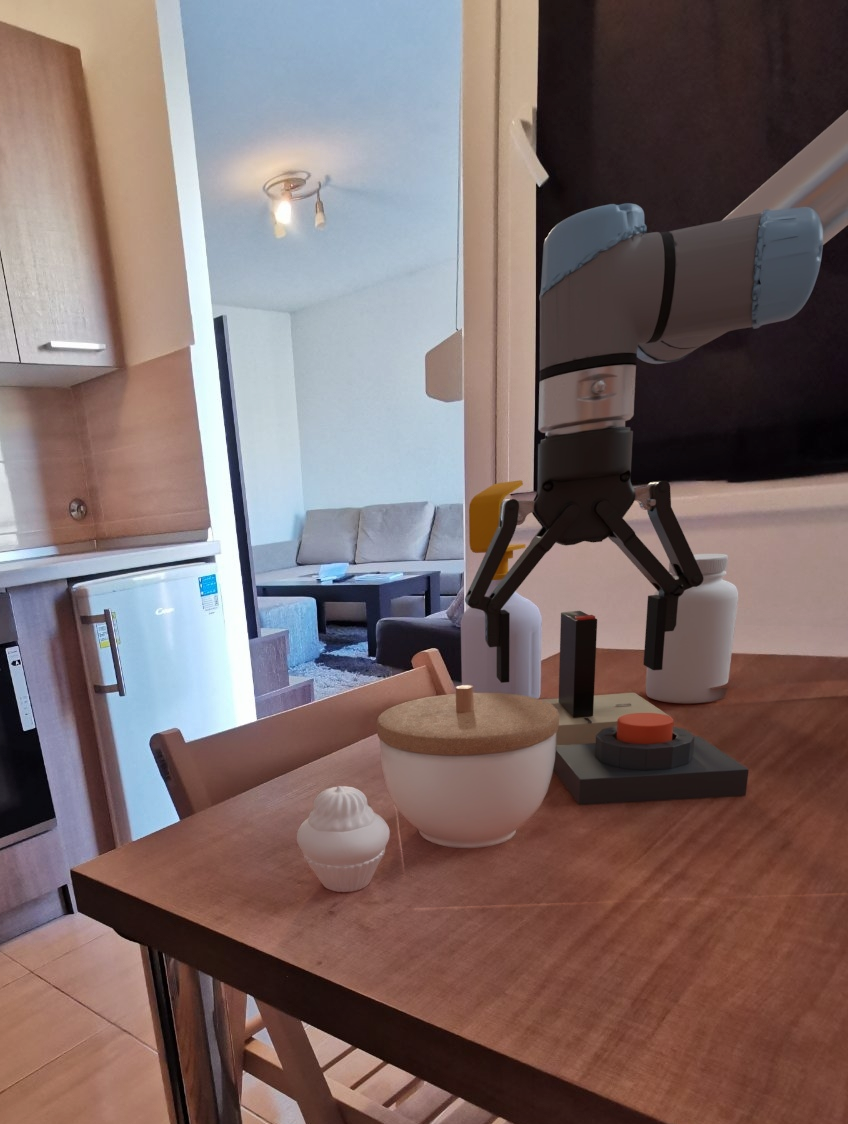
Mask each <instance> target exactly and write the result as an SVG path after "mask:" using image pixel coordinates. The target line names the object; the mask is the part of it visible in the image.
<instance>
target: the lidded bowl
mask: <svg viewBox="0 0 848 1124" xmlns="http://www.w3.org/2000/svg"><path fill="white" fill-rule="evenodd" d="M558 726H559V713H558V710H557V709H556V708H555V707H554V706H553V705H552V704H550V703H548V702H546V701H543V699H540V698H538V699H536V698H532V697H528V696H522V695H515V694H504V693H473V686H471V685H462V684H461V685H457V686H455V693H450V694H449V693H448V694H439V695H433V696H426V697H422V698H421V697H420V698H417V699H413V700H408V701H405V702H402V703H398V704H396V705H394V706H391V707H389V708H387V709H386V710H384V711H382V712H381V713H380V714H379V715H378V717H377V719H376V732H377V738H378V739H379V750H380V764H381V770H382V773H383V775H382V776H383V779H384V783H385V785H386V789H387V792H388V795H389V797H390V799H391V801H392V803H393V805H394V807H395V808H396V809H397V811H398V812H399V814H400V815H401V816H402V817H403V818H404V819H405V820H406V821H407V822H408V823H409V824H410V825H411V826H413V827H414V828H416V829H417V831H418V833H419V835H420V836H421V838H423V839H425V840H426V841H428V842H430V843H432V844H435V845H438V846H443V847H448V848H456V849H478V848H480V849H481V848H486V847H492V846H496V845H499V844H502V843H505V842H507V841H509V840H511V839H512V838H513V837H515V835H516V832H517V829H519V828H520V827H521V826H523V825H525V824H526V823H527V822H528V821H529V820H530V819H531V818H532V817H533V816H534V815H535V813H536V812H537V811H538V809H540V807H541V805H542V804H543V802H544V799H545V797H546V795H547V793H548V791H549V787H550V784H551V780H552V777H553V773H554V771H553V768H554V762H555V753H556V732H557V730H558Z"/></svg>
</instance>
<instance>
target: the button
mask: <svg viewBox="0 0 848 1124" xmlns="http://www.w3.org/2000/svg"><path fill="white" fill-rule="evenodd" d="M667 715H668V714H667ZM667 715H663V714H657V713H633V714H627V715H623V716H621V717H619V718H618V720H617V738H616V739H617V740H620V741H623V742H627V743H638V744H653V743H664V742H668V741H672V734H673V727H674V723H675V721H674V718H673V717H672V716H670V715H669V716H667Z"/></svg>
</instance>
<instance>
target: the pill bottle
mask: <svg viewBox="0 0 848 1124" xmlns="http://www.w3.org/2000/svg"><path fill="white" fill-rule="evenodd" d="M693 555H694V557H695V560H696V562H697V564H698V566H699V568H700V571H701V573H702V575H703V578H704V579H703V582H702V584H701V585H699V586H697V587H691V588H689V589H687V590H685V591H684V593H683V594H682V595H681V596H679V598H678V608H677V618H676V619H677V620H676V627H675V629H674V631H668V632H665V637H664V651H663V665H662V670H652V669H650V668H648V667H646V675H645V676H646V677H645V695H646V697H648V698H650V699H651V700H655V701H658V702H663V703H668V704H669V703H670V704H685V705H687V704H705V703H711V702H716V701H719V700H722V699H723V698H724V697H725V696H726V694H727V691H728V688H727V687H724V688H718V687H721V686H724V685H727V684H728V683H729V679H730V670H731V661H732V654H733V646H734V637H735V628H736V620H737V612H738V605H739V604H738V603H739V590H738V588H737V586H736V585H735V584H734V583H732V582H730V581H728V580H725V579H723V578H724V576H726V575H727V571H726V570H728V564H729V563H728V562H729V555H728V554H726V553H696V554H693ZM668 572H669V573H670V574H671V575H672V576H673V577H675V576H676V574H675V571H674V569H673V567H672V565H671V563H670V562H669V563H668ZM653 595H659V592H658V591H657V590H655V592H654V594H653Z"/></svg>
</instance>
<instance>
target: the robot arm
mask: <svg viewBox="0 0 848 1124" xmlns="http://www.w3.org/2000/svg"><path fill="white" fill-rule="evenodd" d="M847 226H848V109H847V110H846V111H845V112H844V113H843V114H841V115H840V116H839V117H838V118H837V119H836V120H834V121H833V123H832V124H830V125H829V126H828V127H826V128H825V129H824V130H823V131H822V132H821V133H820V134H819V135H817V136H816V137H815V138H814V139H813V140H812V141H811V142H810V143H808V144H807V145H806V146H805V147H803V149H801V150H800V151H799V152H798V153H797V154H796V155H795V156H794V157H792V158H791V159H790V160H789V161H788V162H786V164H784V165H783V166H782V167H781V168H780V169H779V170H777V172H775V173H774V174H773V175H771V177H770V178H768V179H767V180H766V181H765V182H764V183H763V184H761V186H760V187H758V188H757V189H755V191H754V192H752V193H751V194H750V195H749V196H748V197H746V198H745V200H743V201H742V202H741V203H740V204H739V205H738V206H737V207H735V208H734V209H733V210H732V211H731V212H730V213H728V215H726V216H725V217H724V218H723V219H722V220H719V221H714V222H708V223H704V224H699V225H694V226H688V227H684V228H683V227H682V228H678V229H674V230H669V231H663V232H662V231H661V232H658V231H654V232H647V230H648V229H647V228H648V226H647V225H646V224H645V212H644V209H643V208H642V207H641V206H640V205H638V204H636V203H631V202H630V203H629V202H627V203H621V204H615V203H609V204H605V205H600V206H596V207H592V208H589V209H585V210H582V211H580V212H577V213H574V214H572V215H570V216H568V217H567V218H565V219H563V220H562V221H560V222H558V223H557V224H556V225H555V226H554V227H553V228H552V229H551V230H550V232H549V233H548V235H547V237H546V238H544V242H543V248H542V249H543V250H542V265H541V279H540V280H541V281H540V282H541V283H540V293H539V295H538V300H539V389H538V391H539V394H538V431H539V432H540V433H542V434H545V436H544V437H545V438H544V439H541V440H540V443H538V444H537V489H536V494H535V497H534V499H533V500H517V499H516V498H506V499H503V501H502V503H501V507H500V516H499V526H498V528H497V530H496V532H495V534H494V536H493V538H492V541H491V543H490V545H489V547H488V549H487V551H486V553H484V555H483V558H482V560H481V562H480V564H479V567H478V569H477V571H476V573H475V575H474V577H473V580H472V582H471V584H470V585H469V588H468V590H467V593H466V595H465V596H464V602H465V604H466V605H467V606H468V607H471V608H475V609H479V610H482V611H484V613H485V641H486V643H487V645H488V646H489V647H497V678H498V679H499V681H500V682H501V683H505V682H509V629H510V613H509V612H507V611H506V610H501V609H502V607H503V606H504V605H505V604H506V602H507V601H508V600H509V599H510V597H511V596H512V595H513V594H514V592H515V591H516V592H517V590H518V589H519V587H520V586H521V585H522V584H523V583H524V581H525V580H526V579H527V577H528V576H529V575H530V574H531V573H532V571H533V570H534V569H535V567H536V566H537V565H538V564H539V562H540V561H541V560H542V559H543V557H544V556H545V555H546V554H547V553H548V552H549V551H551V549H552V548H553V547H554V545H555V544H558V545H559V546H560V545H561V546H565V547H566V546H575V545H577V544H578V545H579V544H580V543H583V542H587V543H602V542H603V541H604V540H606V539H607V538H608V539H609V540H610V541H611V542H612V543H613V544H615V545H616V546H617V548H619V549H620V551H621V552H622V553H623V554H624V555H625V556H626V557H627V558H628V560H629V561H630V562H631V563H632V564H633V566H635V567H636V568H637V570H639V572H640V573H641V574H642V575H643V576H644V578H646V580H647V581H648V582H649V583H650V584H651V585H652V587H654V589H655V590H656V591H658V592H659V595H654V594H651V595H650V594H649V595H647V604H646V605H647V606H646V621H645V635H644V636H645V637H644V650H643V651H644V653H643V666H645V667H646V668H647V667H648V668H650V669H652V670H662V665H663V651H664V637H665V632H668V631H674V629H675V627H676V620H677V619H676V618H677V608H678V598H679V596H681V595H682V594H683V593H684V591H685V590H687V589H689V588H691V587H697V586H699V585H701V584H702V582H703V579H704V578H703V575H702V573H701V571H700V568H699V566H698V564H697V562H696V560H695V557H694V555H695V554H694V553H693V551H692V549H691V547H690V545H689V542H688V540H687V538H686V536H685V534H684V531H683V529H682V527H681V525H680V523H679V521H678V518H677V516H676V513H675V512H674V509H673V508H672V496H671V494H672V493H671V484H670V482H669V481H667V480H656V481H651V482H649V483H648V484H646V485H642V486H637V487H634V486H633V484H632V482H631V472H632V457H633V440H634V439H633V437H634V431H633V430H631V427H630V426H626V422H627V421H630V420H631V419H632V418H633V417H634V415H635V395H636V394H635V393H636V374H637V373H636V371H637V360H638V359H639V360H641V361H643V362H645V363H649V364H652V365H653V364H654V365H660V364H661V365H662V364H667V363H674V362H678V361H681V360H684V359H685V358H687V356H689V355H690V354H692V353H693V352H694V351H695V350H697V349H698V348H701V347H702V346H705V345H707V344H708V343H710V342H712V341H713V340H716V339H717V338H720V337H721V336H723V335H724V334H726V333H728V332H731V331H736V330H742V329H747V328H752V329H753V330H755V329H760V327H762V326H765V325H769V324H773V323H778V322H783V321H787V320H789V319H791V318H793V317H795V316H796V315H797V314H798V313H799V312H800V311H801V310H802V309H803V308H804V307H805V305H806V303H807V302H808V300H809V298H810V296H811V294H812V292H813V290H814V287H815V284H816V281H817V278H818V276H819V272H820V267H821V262H822V257H823V248H824V245H825V244H826V243H828V242H829V241H830V240H831V239H832V238H834V237H835V236H836V235H837V234H838V233H840V232H841V231H842V230H844V229H845V228H846V227H847ZM635 502H637V503H638V505H639V507H640V509H642V510H643V511H647V515H648V518H649V520H650V522H651V525H652V528H653V529H654V531H655V533H656V535H657V537H658V540H659V541H660V544H661V546H662V548H663V550H664V552H665V554H666V556H667V558H668V561H669V563H671V565H672V567H673V569H674V571H675V574H676V576H675V577H673V576H672V575H671V574H672V573H669V570H667V568H666V567H665V566H664V565H663V564H662V562H660V560H659V559H658V558H657V557H656V555H654V553H652V551H651V550H650V549H649V548H648V547H647V545H645V543H643V541H642V540H641V539H640V538H639V537H638V536H637V534H636V532H635V530H634V529H633V527H631V526H630V525H629V523H627V521H626V520H625V519H624V518H625V516H626V514H627V513H628V512H629V510H630V508H631V507H632V506H633V504H634V503H635ZM531 513H532V516H533V517H534V518H535V520H536V521H537V522H538V523H539V524H540V526H541V527H540V528H539V530H538V531H537V533H536V534H535V535H534V536H533V538H531V540H530V542H529V544H528V545H527V547H525V549H524V551H523V552H522V554H520V556H518V558H517V560H516V561H515V563H514V564H512V566H511V567H510V569H508V573H507V574H506V575H505V576H504V578H503V579H502V580H501V581H500V583H499V584H498V585H497V587H496V588H495V589H494V590H493V592H492V593H491V594H490V595H489V597H486V596H485V594H486V592H487V590H488V588H489V586H490V584H491V581H492V579H493V577H494V575H495V573H496V571H497V569H498V567H499V565H500V562H501V560H502V558H503V556H504V554H505V552H506V550H507V548H508V546H509V545H510V543H511V541H512V539H513V537H514V534H515V531H516V529H517V526H520V525H522V524H523V523H524V522H525V521H526V518H527V516H528V515H530V514H531Z"/></svg>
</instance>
